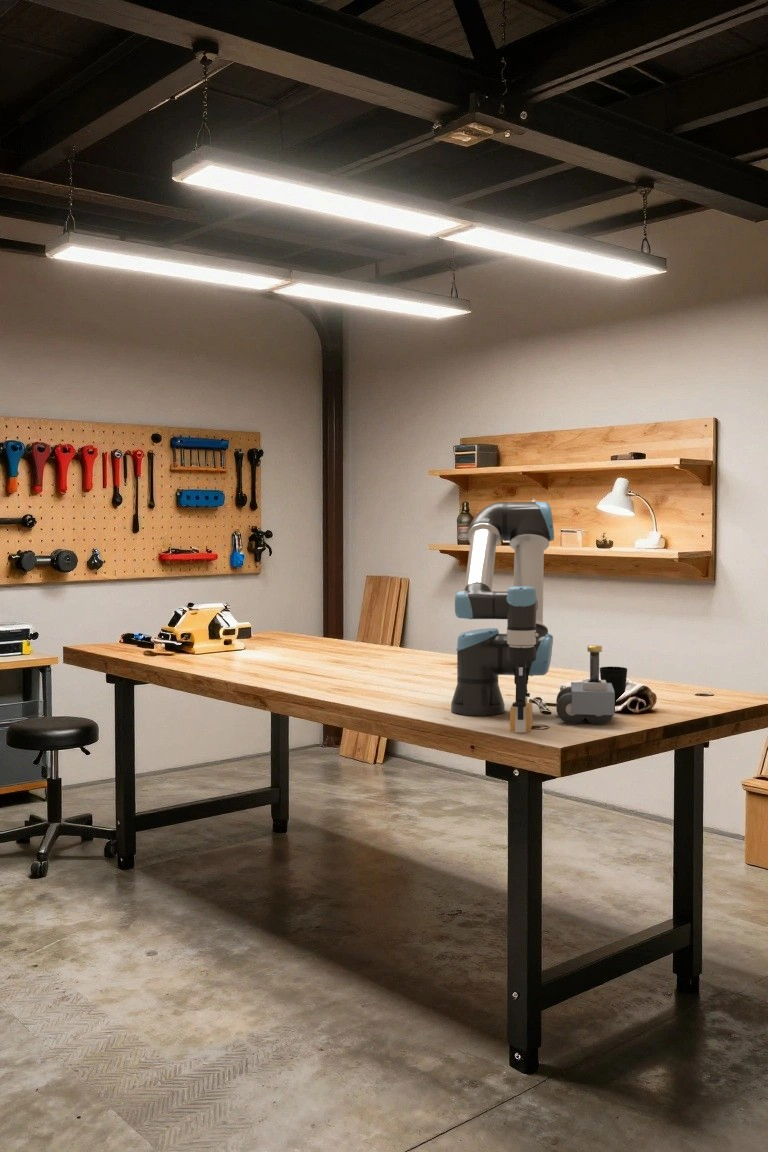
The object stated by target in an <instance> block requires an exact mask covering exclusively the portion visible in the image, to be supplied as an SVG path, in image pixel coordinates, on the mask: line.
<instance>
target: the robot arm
mask: <svg viewBox="0 0 768 1152" xmlns="http://www.w3.org/2000/svg"><path fill="white" fill-rule="evenodd" d="M553 521H554V519H553V513H552V507H551V505H550V504H549V503H548V502H545V501H536V500H535V501H509V502H508V501H497V502H495V503H491V504H489V505H487V506H485V507H484V508H483V509H481V510H480V511H478V513H477V514H476V515H475V516H474V518H473V519H472V521H471V522H470V524H469V527H468V531H467V539H468V542H469V551H468V558H467V566H466V574H465V575H466V576H465V580H464V581H465V584H464V590H460V591H457V592H456V593H455V596H454V612H455V613H454V614H455V616H456V617H457V618H458V619H464V620H466V619H467V620H506V621H507V622H506V623H507V624H506V625H507V627H506V633H500V631H499V629H498V628H495V627H493V628H491V627H489V628H480V629H473V630H468V631H467V630H466V631H464V632H461V633H460V634H459V635H458V636H457V645H456V650H455V651H456V652H457V653H456V654H457V656H456V659H457V661H456V663H457V666H456V668H457V669H456V671H457V672H456V673H457V675H456V676H457V678H456V687H455V690H454V693H453V696H452V700H451V703H450V710H451V712H452V713H454V714H457V713H458V714H457V715H465V716H480V717H481V716H482V717H483V716H494V715H499V714H503V713H505V709H506V708H505V701H504V698H503V695H502V692H501V688H500V686H499V676H514V685H515V701H514V702H515V703H513V702H512V704H513V707H515V731H514V732H515V733H527V732H526V703H528V698H530V697H531V693H530V692H528V683H529V677H533V676H535V677H536V676H544V675H546V674H547V673H548V672H549V670H550V665H551V661H552V654H553V645H554V636H553V634H551V633H549V628H548V627H547V626H546V625H545V624H544V572H545V571H544V566H545V565H544V564H545V563H544V559H545V551H546V550H547V549H548V548H549V547H550V542H552V541H553V542H554V540H555V531H554V529H555V528H554V522H553ZM501 541H502V542H503V541H504V542H509V546H510V548H511V549H512V550H513V551H514V555H513V556H514V557H513V560H514V561H513V586H509V587H508V588H507V591H493V582H494V573H495V572H494V570H495V561H496V560H495V559H496V553H497V552H496V551H497V546H498V545H499V544H500V542H501Z"/></svg>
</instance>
